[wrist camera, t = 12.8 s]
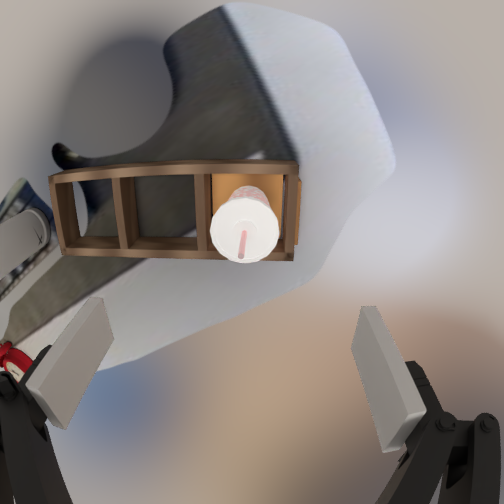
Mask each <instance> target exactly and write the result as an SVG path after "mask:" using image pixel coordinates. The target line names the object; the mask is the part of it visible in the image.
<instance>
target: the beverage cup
mask: <svg viewBox="0 0 504 504" xmlns="http://www.w3.org/2000/svg"><path fill="white" fill-rule="evenodd" d="M210 234H211V238H212V243H213V244H214V246H215V247H216V249H217V250H218V251H219V253H220V254H222V255H223V256H225V257H226V258H228V259H229V260H231V261H235V262H239V263H251V262H257V261H259V260H261V259H263V258H264V257H266V256H268V255H269V254H270V252H271V251H272V250H273V249H274V248H275V246H276V244H277V241H278V237H279V226H278V220H277V217H276V216H275V214H274V212H273V211H272V209H271V208H270V205H269V202H268V199H267V197H266V196H265V194H264V192H263V191H261V190H260V189H258V188H257V187H253V186H243V187H240V188H239V189H237V190H235V191H234V192H233V194H232V195H231V197H230V198H229V199H228V201H227V202H226V203H224V204H222V205H221V206H220V208H219V209H218V210H217V212H216V213H215V215H214V216H213V218H212V222H211V227H210Z"/></svg>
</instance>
